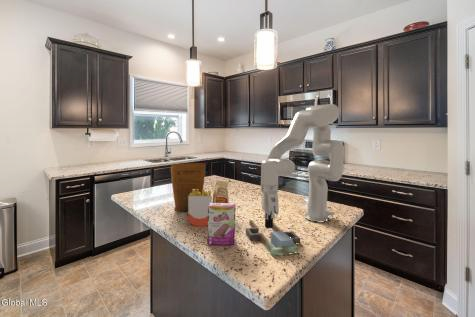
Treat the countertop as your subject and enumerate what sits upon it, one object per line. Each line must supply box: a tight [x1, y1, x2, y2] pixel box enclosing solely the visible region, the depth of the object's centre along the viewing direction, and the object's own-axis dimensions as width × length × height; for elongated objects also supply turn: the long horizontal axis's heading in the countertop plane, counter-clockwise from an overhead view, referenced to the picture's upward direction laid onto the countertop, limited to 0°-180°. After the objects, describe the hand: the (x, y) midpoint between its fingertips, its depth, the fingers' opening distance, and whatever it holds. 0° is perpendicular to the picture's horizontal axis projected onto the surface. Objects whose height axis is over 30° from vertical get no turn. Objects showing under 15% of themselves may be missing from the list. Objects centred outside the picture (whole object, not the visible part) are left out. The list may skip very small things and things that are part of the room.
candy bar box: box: [206, 202, 237, 246], centre depth 99 cm, size 11×5×16 cm, turn 92°
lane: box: [245, 219, 301, 257], centre depth 106 cm, size 19×31×2 cm, turn 13°
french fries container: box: [187, 188, 213, 227], centre depth 118 cm, size 5×11×18 cm, turn 91°
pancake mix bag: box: [170, 162, 206, 213], centre depth 138 cm, size 7×19×28 cm, turn 96°
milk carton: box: [212, 179, 230, 203], centre depth 131 cm, size 9×9×20 cm
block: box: [270, 230, 293, 248], centre depth 96 cm, size 5×9×5 cm, turn 17°
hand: (268, 227), depth 109 cm, fingers closed
